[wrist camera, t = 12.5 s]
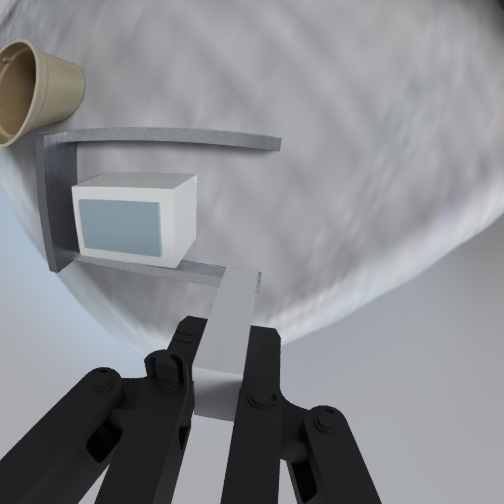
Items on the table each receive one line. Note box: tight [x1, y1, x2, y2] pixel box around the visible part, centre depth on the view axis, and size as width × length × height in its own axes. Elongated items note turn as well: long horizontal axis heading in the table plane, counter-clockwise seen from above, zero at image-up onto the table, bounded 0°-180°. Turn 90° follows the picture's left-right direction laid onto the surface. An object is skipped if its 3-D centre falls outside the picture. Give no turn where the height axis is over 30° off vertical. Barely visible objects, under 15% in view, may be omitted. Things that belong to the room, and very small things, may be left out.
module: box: [72, 172, 197, 268], centre depth 23 cm, size 6×9×6 cm, turn 86°
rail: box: [36, 127, 281, 293], centre depth 23 cm, size 13×21×5 cm, turn 83°
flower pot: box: [0, 39, 85, 148], centre depth 17 cm, size 9×9×9 cm
